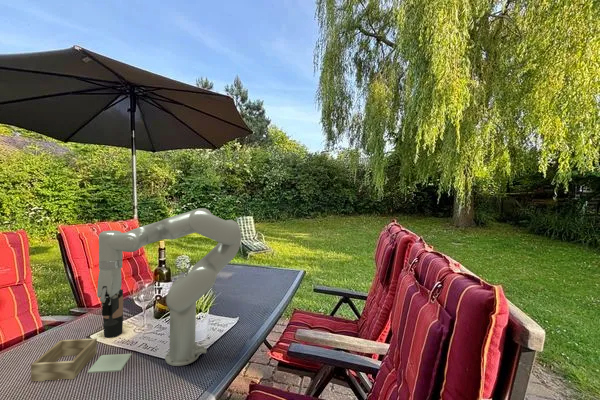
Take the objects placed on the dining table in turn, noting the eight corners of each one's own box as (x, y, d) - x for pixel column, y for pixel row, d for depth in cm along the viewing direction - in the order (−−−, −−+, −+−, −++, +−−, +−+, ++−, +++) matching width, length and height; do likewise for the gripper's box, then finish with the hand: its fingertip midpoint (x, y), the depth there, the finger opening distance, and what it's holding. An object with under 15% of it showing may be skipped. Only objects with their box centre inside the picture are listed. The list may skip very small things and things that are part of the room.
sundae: (116, 318, 123) (116, 279, 122) (123, 323, 119) (124, 283, 118) (97, 323, 118) (97, 283, 117) (104, 328, 114) (104, 287, 113)
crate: (96, 353, 126) (96, 338, 126) (73, 379, 109) (73, 362, 109) (60, 355, 124) (60, 340, 123) (31, 382, 107) (31, 364, 107)
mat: (131, 355, 125) (131, 353, 125) (120, 371, 114) (120, 369, 114) (101, 356, 123) (101, 355, 123) (87, 373, 113) (87, 371, 113)
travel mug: (100, 339, 137) (100, 293, 136) (106, 331, 144) (106, 288, 143) (120, 337, 139) (120, 292, 138) (125, 329, 146) (125, 287, 145)
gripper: (109, 258, 125) (109, 303, 126) (88, 270, 108) (88, 322, 109) (130, 258, 126) (129, 303, 127) (112, 270, 109) (112, 321, 110)
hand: (110, 311), depth 118 cm, fingers closed on sundae, 5 cm apart
